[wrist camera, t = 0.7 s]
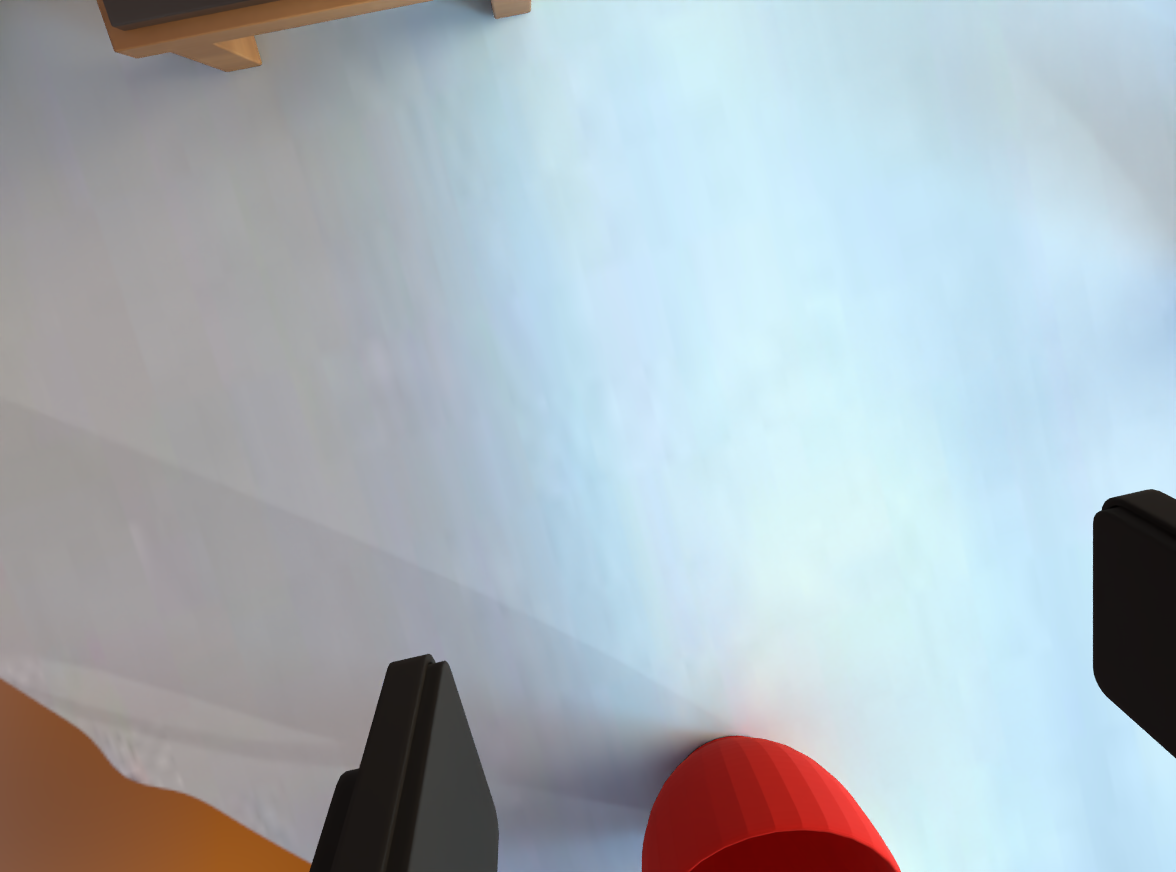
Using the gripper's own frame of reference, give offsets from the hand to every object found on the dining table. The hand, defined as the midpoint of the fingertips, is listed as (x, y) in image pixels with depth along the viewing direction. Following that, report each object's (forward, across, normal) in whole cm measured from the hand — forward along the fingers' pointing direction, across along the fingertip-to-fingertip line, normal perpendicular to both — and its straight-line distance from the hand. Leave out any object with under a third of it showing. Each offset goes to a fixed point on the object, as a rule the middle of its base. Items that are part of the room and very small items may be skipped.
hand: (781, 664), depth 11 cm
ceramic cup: (+28, 0, +30) cm, 41 cm away
